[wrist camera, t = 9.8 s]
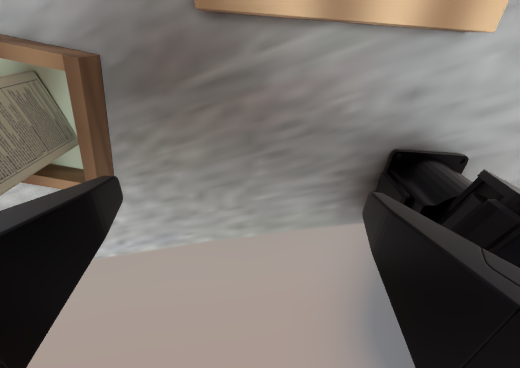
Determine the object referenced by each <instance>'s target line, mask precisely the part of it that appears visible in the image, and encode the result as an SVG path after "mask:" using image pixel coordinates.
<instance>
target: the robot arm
mask: <svg viewBox="0 0 520 368" xmlns="http://www.w3.org/2000/svg"><path fill="white" fill-rule="evenodd" d="M397 154H399V156H398V157H395V156H396V155H397ZM461 159H462V160H461ZM460 160H461V161H460ZM459 161H460V162H459ZM467 162H468V157H467V156H465V155H463V154H454V153H441V152H427V151H414V150H400V149H397V150H394V151H393V152H392V153H391V154H390V157H389V160H388V163H387V166H386V168H385V171H384V172H383V173H382V175H381V178H380V181H379V183H378V186H377V189H376V192H371V193H370V194H369V195H368V197H367V200H366V203H365V206H364V209H363V220H364V224H365V228H366V232H367V236H368V240H369V244H370V248H371V251H372V255H373V257H374V260H375V263H376V265H377V268H378V271H379V273H380V276H381V278H382V281H383V284H384V286H385V289H386V292H387V294H388V296H389V299H390V302H391V305H392V307H393V310H394V313H395V315H396V318H397V320H398V323H399V326H400V328H401V331H402V334H403V336H404V339H405V341H406V344H407V346H408V349H409V352H410V354H411V357H412V359H413V362H414V365H415V368H520V189H519V188H517V187H516V186H514V185H512V184H510V183H508V182H506V181H505V180H503V179H501V178H499V177H497V176H495V175H493V174H492V173H490V172H488V171H486V170H483V171H482V172H481V173H480V174H479V175H478V178H477V179H476V180H475V181H474V182H473V183H472V182H471V181H469V180H468V179H467V178H465V177H464V176H462V175H461V173H462V172H463V170H464V168H465V166H466V164H467ZM122 201H123V195H122V191H121V187H120V183H119V180H118V178H117V177H116V176H107V175H104V176H101V177H98V178H95V179H92V180H89V181H86V182H83V183H80V184H77V185H74V186H72V187H69V188H66V189H63V190H60V191H57V192H54V193H51V194H48V195H45V196H42V197H40V198H37V199H34V200H31V201H28V202H25V203H22V204H19V205H16V206H13V207H10V208H8V209H5V210H2V211H0V368H26V367H27V366H28V364H29V362H30V361H31V359H32V357H33V356H34V354H35V352H36V351H37V349H38V348H39V346H40V344H41V342H42V341H43V339H44V338H45V336H46V334H47V333H48V331H49V330H50V328H51V326H52V325H53V323H54V321H55V320H56V318H57V316H58V315H59V313H60V311H61V310H62V308H63V307H64V305H65V303H66V302H67V300H68V298H69V296H70V295H71V293H72V292H73V290H74V289H75V287H76V285H77V284H78V282H79V280H80V279H81V277H82V275H83V274H84V272H85V271H86V269H87V267H88V266H89V264H90V262H91V261H92V259H93V258H94V256H95V254H96V253H97V251H98V249H99V248H100V246H101V244H102V243H103V241H104V239H105V238H106V236H107V234H108V232H109V230H110V227H111V225H112V223H113V221H114V219H115V217H116V214H117V212H118V210H119V208H120V206H121V204H122Z"/></svg>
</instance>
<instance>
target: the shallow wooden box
mask: <svg viewBox="0 0 520 368" xmlns="http://www.w3.org/2000/svg"><path fill="white" fill-rule="evenodd" d="M508 1H509V0H195V8H196V9H199V10H202V11H208V12H221V13H233V14H246V15H258V16H271V17H283V18H296V19H308V20H321V21H333V22H346V23H358V24H371V25H383V26H396V27H408V28H421V29H433V30H446V31H458V32H494V31H495V29H496V27H497V25H498V23H499V21H500V18H501V16H502V14H503V12H504V10H505V8H506V6H507V3H508Z"/></svg>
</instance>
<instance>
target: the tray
mask: <svg viewBox="0 0 520 368" xmlns="http://www.w3.org/2000/svg"><path fill="white" fill-rule="evenodd" d="M25 71H34V72H35V73H36V75H37V76H38V78H39V79H40V81H41V82H42V84H43V85H44V87H45V88H46V90H47V91H48V93H49V94H50V96H51V97H52V99H53V100H54V102H55V103H56V105H57V107H58V108H59V110H60V111H61V113H62V114H63V116H64V117H65V119H66V121H67V122H68V124H69V125H70V127H71V128H72V130H73V132H74V133H75V135H76V137H77V138H78V143H79V145H77V146H76V147H74V148H73V149H71V150H70V151H68V152H66V153H65V154H63V155H62V156H60V157H59V158H57V159H56V160H54V161H53V162H51V163H50V164H48V165H47V166H45V167H43V168H42V169H40V170H39V171H37V172H36V173H34V174H33V175H31V176H30V177H28V178H27V179H25V180H24V181H22V183H28V184H34V185H40V186H46V187H52V188H58V189H66V188H69V187H72V186H74V185H77V184H80V183H83V182H86V181H89V180H92V179H95V178H98V177H101V176H104V175H107V176H114V172H113V164H112V155H111V147H110V139H109V130H108V122H107V113H106V105H105V97H104V88H103V80H102V71H101V63H100V55H97V54H92V53H88V52H83V51H78V50H73V49H68V48H63V47H59V46H54V45H49V44H44V43H39V42H34V41H30V40H25V39H20V38H15V37H10V36H5V35H1V34H0V76H5V75H10V74H15V73H20V72H25Z"/></svg>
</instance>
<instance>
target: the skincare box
mask: <svg viewBox="0 0 520 368" xmlns="http://www.w3.org/2000/svg"><path fill="white" fill-rule="evenodd" d="M77 145H79V143H78V138H77V137H76V135H75V133H74V132H73V130H72V128H71V127H70V125H69V124H68V122H67V121H66V119H65V117H64V116H63V114H62V113H61V111H60V110H59V108H58V107H57V105H56V103H55V102H54V100H53V99H52V97H51V96H50V94H49V93H48V91H47V90H46V88H45V87H44V85H43V84H42V82H41V81H40V79H39V78H38V76H37V75H36V73H35V72H34V71H25V72H20V73H15V74H10V75H5V76H0V195H2V194H3V193H5V192H6V191H8V190H10V189H11V188H13V187H14V186H16V185H17V184H19V183H21V182H22V181H24V180H25V179H27V178H28V177H30V176H31V175H33V174H34V173H36V172H37V171H39V170H40V169H42V168H43V167H45V166H47V165H48V164H50V163H51V162H53V161H54V160H56V159H57V158H59V157H60V156H62V155H63V154H65V153H66V152H68V151H70V150H71V149H73V148H74V147H76V146H77Z"/></svg>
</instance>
